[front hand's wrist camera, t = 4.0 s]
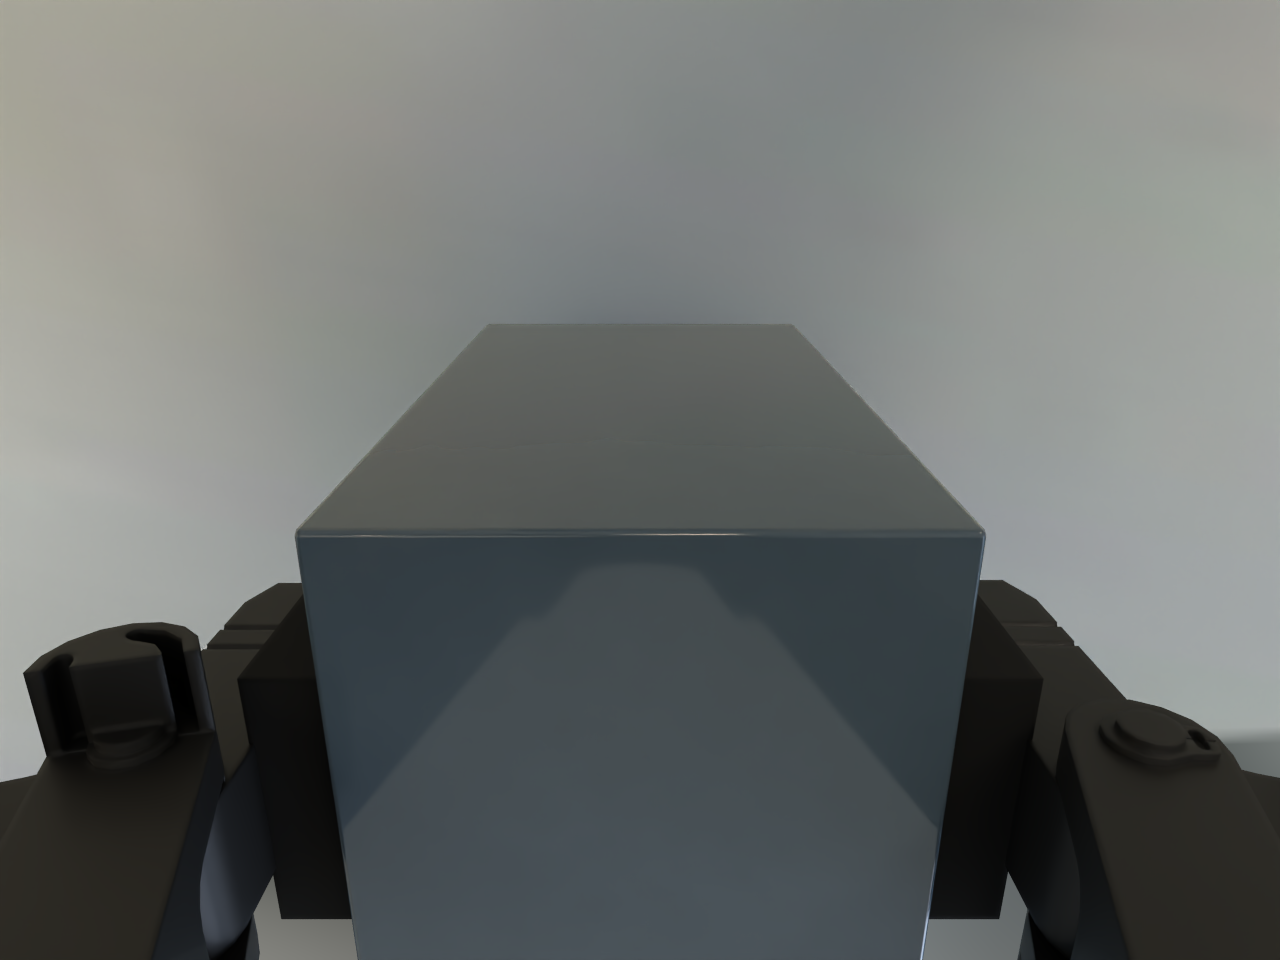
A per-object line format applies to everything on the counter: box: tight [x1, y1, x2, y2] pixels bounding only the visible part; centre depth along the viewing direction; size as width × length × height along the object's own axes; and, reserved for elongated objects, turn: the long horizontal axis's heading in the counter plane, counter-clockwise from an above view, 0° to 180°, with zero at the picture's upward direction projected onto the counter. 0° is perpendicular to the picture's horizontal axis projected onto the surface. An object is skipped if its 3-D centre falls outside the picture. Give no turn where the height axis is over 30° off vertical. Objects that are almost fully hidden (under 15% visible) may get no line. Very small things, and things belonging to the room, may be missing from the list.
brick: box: [295, 324, 986, 960], centre depth 12 cm, size 6×6×9 cm
